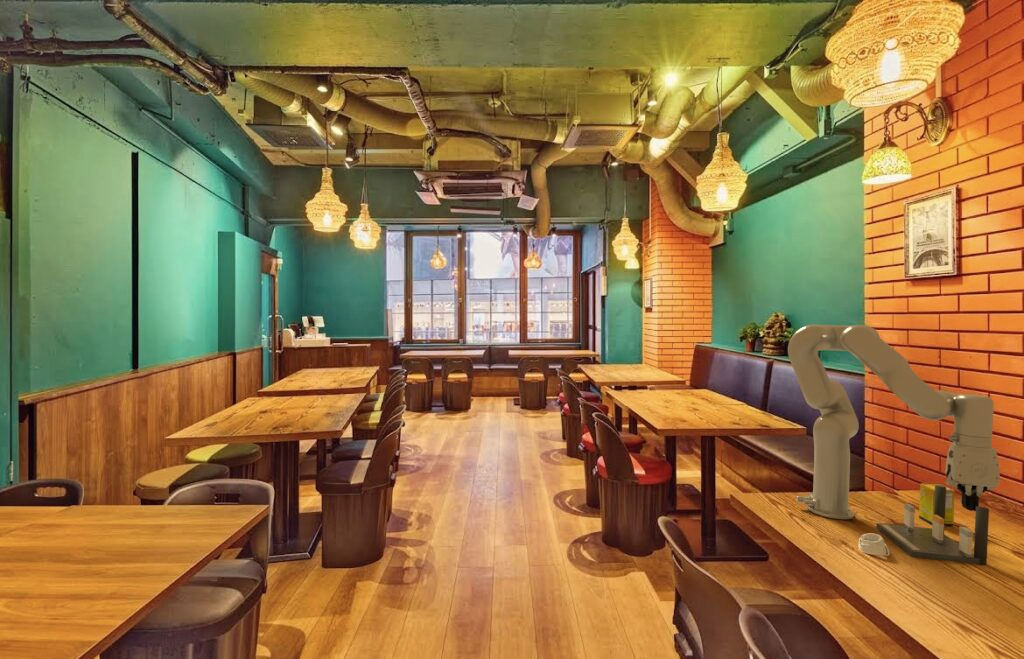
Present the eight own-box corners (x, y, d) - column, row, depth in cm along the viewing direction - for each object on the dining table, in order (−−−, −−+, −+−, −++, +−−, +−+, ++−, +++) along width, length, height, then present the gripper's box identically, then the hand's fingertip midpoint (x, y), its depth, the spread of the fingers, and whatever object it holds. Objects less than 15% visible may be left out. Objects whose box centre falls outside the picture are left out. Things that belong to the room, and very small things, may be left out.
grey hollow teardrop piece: (894, 564, 125) (897, 546, 124) (863, 557, 127) (866, 540, 126) (881, 548, 132) (885, 531, 132) (853, 542, 134) (856, 525, 134)
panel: (912, 556, 127) (912, 549, 127) (876, 528, 144) (876, 521, 144) (980, 564, 124) (980, 556, 124) (935, 533, 141) (935, 527, 141)
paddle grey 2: (966, 554, 124) (967, 531, 124) (958, 548, 127) (959, 526, 127) (971, 554, 124) (972, 532, 124) (963, 549, 127) (964, 526, 127)
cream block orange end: (938, 540, 132) (939, 518, 132) (931, 535, 135) (932, 514, 135) (943, 540, 132) (944, 519, 132) (936, 535, 135) (937, 514, 135)
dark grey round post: (977, 564, 124) (980, 509, 123) (931, 532, 142) (933, 484, 142) (989, 565, 123) (991, 510, 123) (940, 533, 142) (942, 485, 141)
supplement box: (938, 518, 153) (940, 483, 152) (953, 526, 147) (955, 490, 146) (918, 517, 153) (919, 482, 153) (932, 525, 147) (934, 489, 147)
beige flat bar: (909, 527, 140) (910, 507, 140) (903, 523, 143) (904, 503, 143) (914, 528, 140) (915, 507, 140) (907, 523, 143) (908, 503, 143)
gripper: (949, 442, 129) (946, 511, 129) (1016, 446, 126) (1014, 517, 126) (931, 436, 136) (928, 501, 137) (995, 439, 133) (992, 506, 134)
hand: (969, 508), depth 132 cm, fingers closed
